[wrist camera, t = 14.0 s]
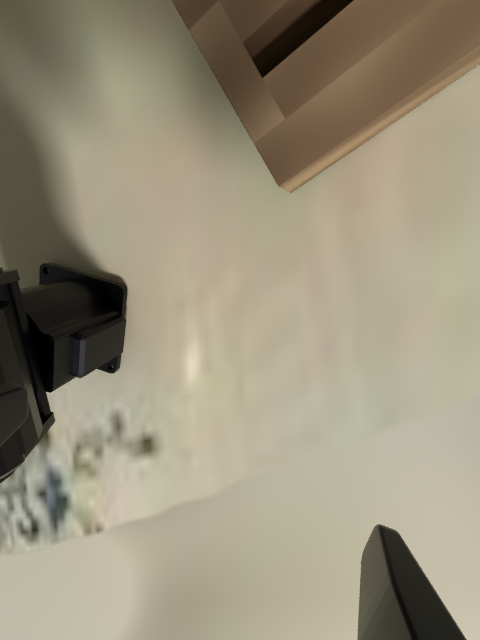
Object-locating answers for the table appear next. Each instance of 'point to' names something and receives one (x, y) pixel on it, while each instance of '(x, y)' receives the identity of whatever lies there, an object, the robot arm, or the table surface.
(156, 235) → the table surface
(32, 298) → the robot arm
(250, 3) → the bore block
